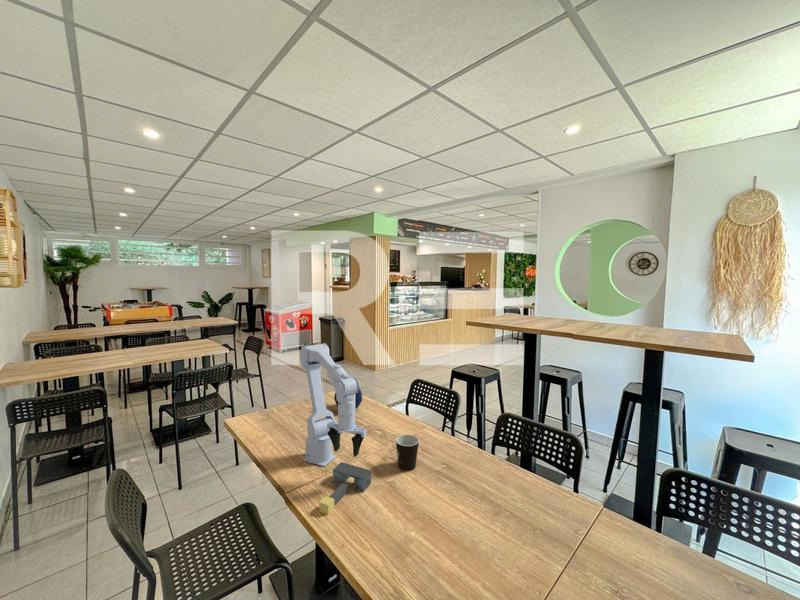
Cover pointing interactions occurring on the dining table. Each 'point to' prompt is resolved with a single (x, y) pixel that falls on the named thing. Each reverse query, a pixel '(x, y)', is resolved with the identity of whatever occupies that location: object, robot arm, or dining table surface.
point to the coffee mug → (407, 451)
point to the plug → (332, 499)
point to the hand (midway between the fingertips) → (346, 452)
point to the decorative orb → (357, 399)
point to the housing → (352, 475)
